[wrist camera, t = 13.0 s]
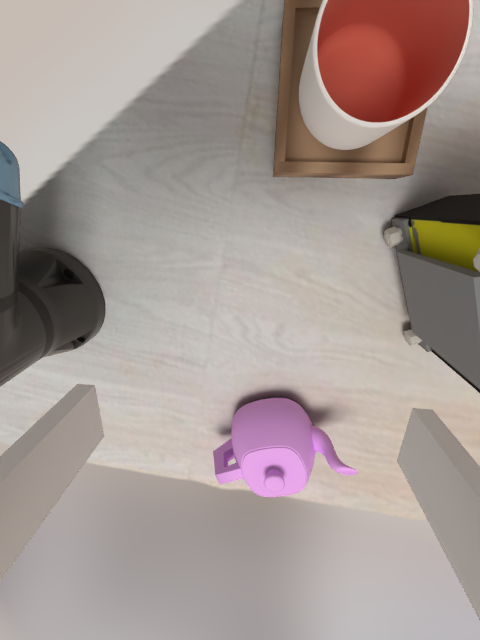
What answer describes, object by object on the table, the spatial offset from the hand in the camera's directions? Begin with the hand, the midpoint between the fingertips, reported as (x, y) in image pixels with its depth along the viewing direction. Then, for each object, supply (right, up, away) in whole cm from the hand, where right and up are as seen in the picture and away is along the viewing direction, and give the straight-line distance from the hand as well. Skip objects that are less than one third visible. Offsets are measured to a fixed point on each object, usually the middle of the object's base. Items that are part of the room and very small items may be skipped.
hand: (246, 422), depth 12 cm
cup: (+10, +27, +16) cm, 33 cm away
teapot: (+6, -13, +36) cm, 38 cm away
